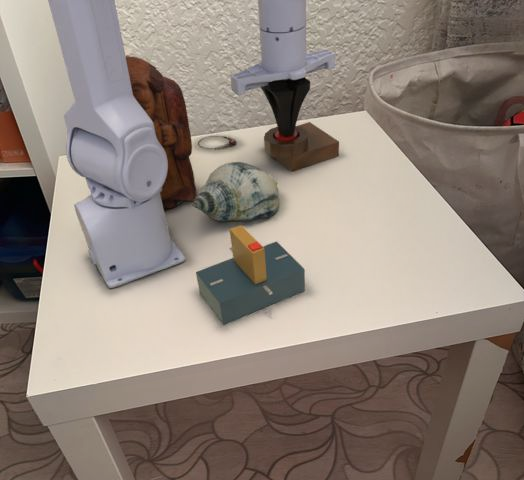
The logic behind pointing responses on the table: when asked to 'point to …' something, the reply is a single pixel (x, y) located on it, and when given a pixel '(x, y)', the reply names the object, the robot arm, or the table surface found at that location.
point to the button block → (302, 147)
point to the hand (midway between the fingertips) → (286, 133)
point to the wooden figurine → (166, 127)
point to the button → (282, 138)
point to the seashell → (238, 193)
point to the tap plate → (250, 284)
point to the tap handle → (248, 254)
